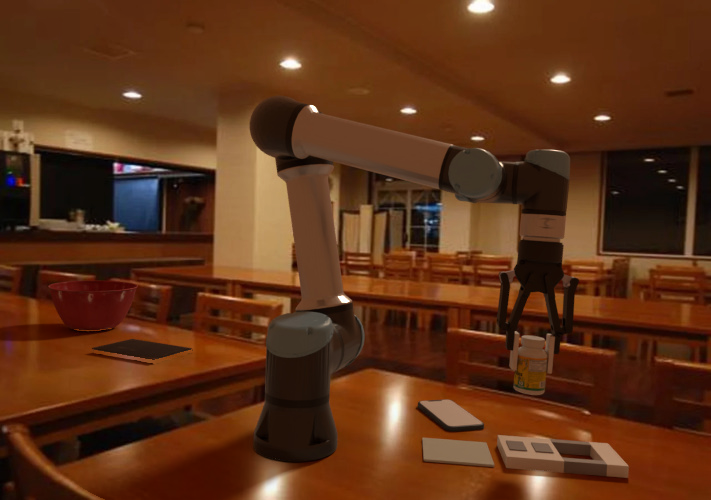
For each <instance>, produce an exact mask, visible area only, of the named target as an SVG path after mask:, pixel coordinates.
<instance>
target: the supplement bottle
mask: <svg viewBox="0 0 711 500" xmlns="http://www.w3.org/2000/svg"><path fill="white" fill-rule="evenodd" d="M520 339H521V340H520V343H521V344H520V345H521V346H520V347H518V359H517V371H516V370H514V375H513V376H514V377H513V389H514V390H515V392H519V393H522V394H525V395H531V396H539V395H543V394H544V393H545V392H546V384H547V383H546V382H547V381H546V380H547V372H546V370H547V359H548V354H547V352H546V351H545V349H543V348H544V347H546V338H544V337H541V336H538V335H537V336H536V335H522V336H521V338H520Z"/></svg>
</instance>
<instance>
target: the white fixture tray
mask: <svg viewBox="0 0 711 500" xmlns="http://www.w3.org/2000/svg"><path fill="white" fill-rule="evenodd" d="M496 442H497V443H496V447H497V449H498V451H499V453H500V456H501V458H502V461H503V464H504V466H505V468H506V469H513V470H514V469H516V470H523V471H524V470H525V471H539V472H550V473H564V474H575V475H584V476H585V475H587V476H598V477H612V478H613V477H614V478H615V477H616V478H623V479H624V478H625V479H628V478H629V470H630V469H629V468H630V466H629V465H628V463H626V461H624V459H623V458H622V457H621V456H620V455H619V453H617V451H616V450H615V449H613V447H612V446H611V445H610V444H609V443H607V442H595V441H584V440H583V441H582V440H581V441H580V440H568V439H553V438H543V437H542V438H541V437H530V436H529V437H527V436H516V435H505V434H503V435H502V434H501V435H500V434H497V441H496ZM561 454H563V455H564V454H565V455H576V456H577V455H578V456H588V457H589V456H590V458H592V459H586V458H573V457H563V456H561Z"/></svg>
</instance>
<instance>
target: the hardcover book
mask: <svg viewBox="0 0 711 500" xmlns="http://www.w3.org/2000/svg"><path fill="white" fill-rule="evenodd" d="M191 349H192V350H193V348H192V347H186V346H180V345H173V344H168V343H162V342H161V343H160V342H155V341H150V340H142V339H136V338H135V339H134V338H130V339H125V340H122V341H117V342H112V343H108V344H104V345H98V346H93V347H91V350H93V351H94V350H98V351H104V352H110V353H117V354H122V355H127V356H134V357H140V358H145V359H152V360H155V359H159V358H163V357H167V356H170V355H174V354H177V353H180V352H184V351H188V350H191Z"/></svg>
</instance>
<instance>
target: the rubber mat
mask: <svg viewBox="0 0 711 500" xmlns="http://www.w3.org/2000/svg"><path fill="white" fill-rule="evenodd" d="M421 440H422V441H421V442H422V455H423V456H422V457H423V462H427V463H428V462H429V463H442V464H451V465H452V464H453V465H463V466H464V465H466V466H475V467H477V466H478V467H488V468H490V467H491V468H495V462H494V460H493V457H492V454H491V452H490V449H489V446H488V443H487V442H485V441H473V440H458V439H446V438H444V439H443V438H435V437H433V438H432V437H422V439H421Z"/></svg>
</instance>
